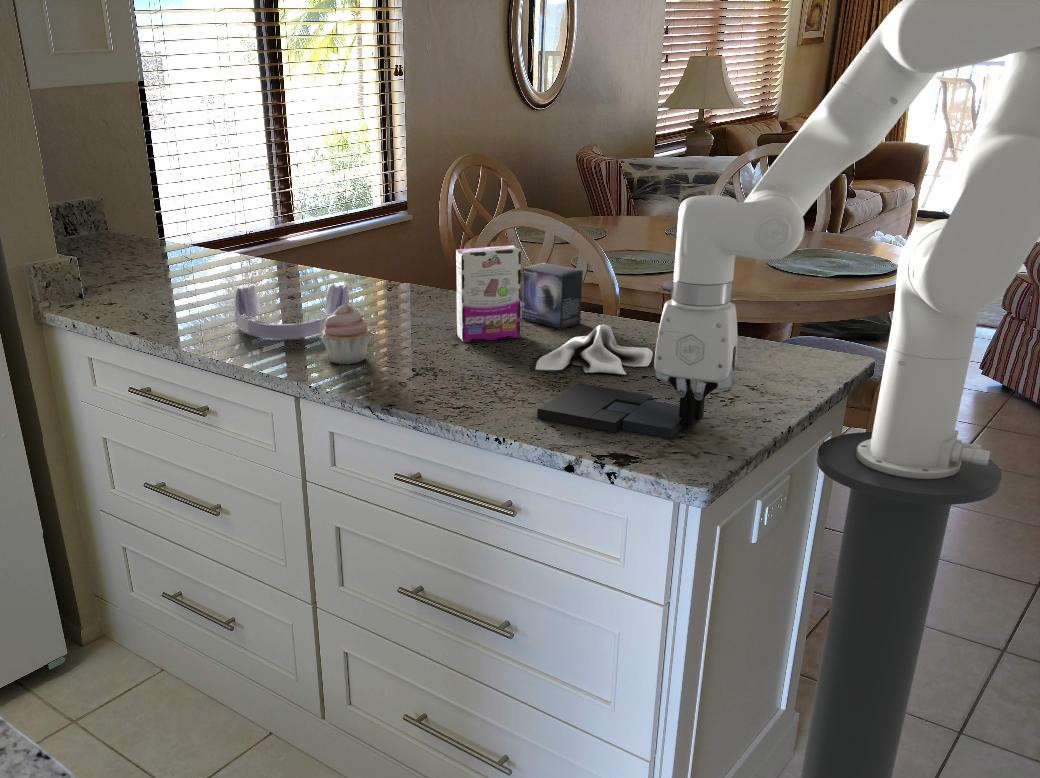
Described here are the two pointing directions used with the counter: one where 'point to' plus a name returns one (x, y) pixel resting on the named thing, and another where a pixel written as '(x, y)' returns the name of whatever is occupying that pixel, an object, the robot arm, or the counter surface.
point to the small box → (551, 295)
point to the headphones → (250, 306)
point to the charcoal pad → (650, 418)
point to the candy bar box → (488, 293)
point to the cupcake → (346, 336)
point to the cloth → (595, 354)
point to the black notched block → (590, 407)
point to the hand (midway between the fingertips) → (690, 423)
